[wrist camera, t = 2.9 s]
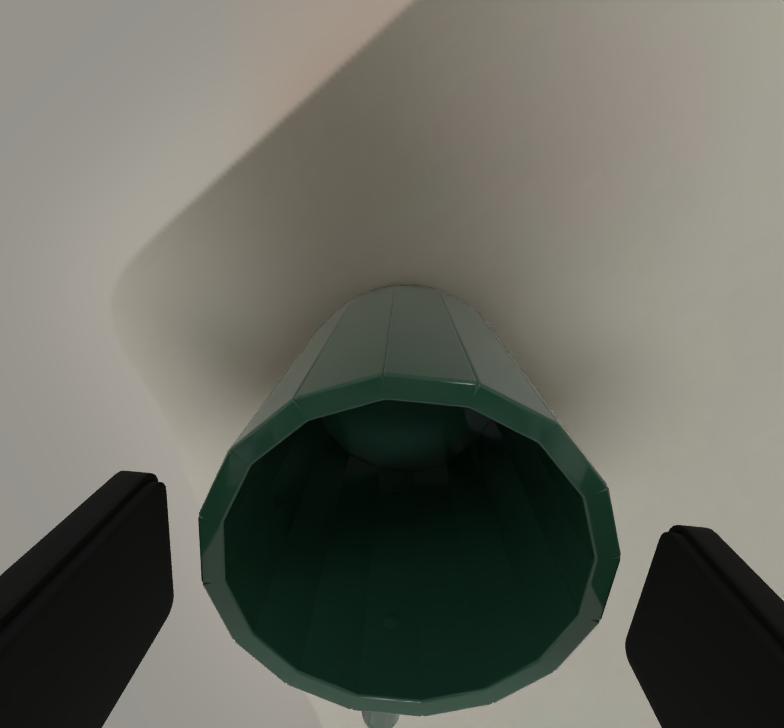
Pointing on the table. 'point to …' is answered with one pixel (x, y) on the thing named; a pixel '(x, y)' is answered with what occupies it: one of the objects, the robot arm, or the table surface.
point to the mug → (407, 517)
